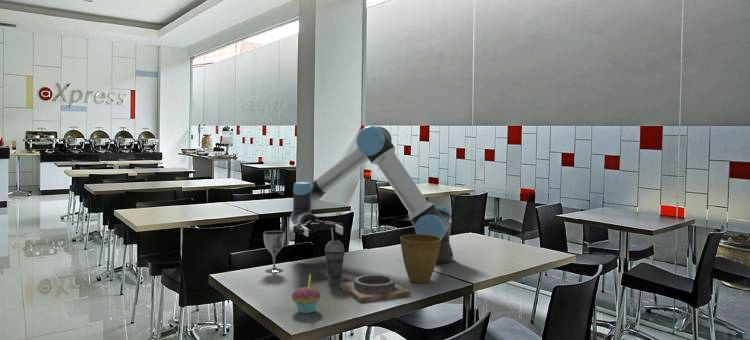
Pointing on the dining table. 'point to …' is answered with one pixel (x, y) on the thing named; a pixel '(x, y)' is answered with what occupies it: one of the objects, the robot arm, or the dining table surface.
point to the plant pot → (420, 256)
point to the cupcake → (306, 298)
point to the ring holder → (374, 288)
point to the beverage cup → (334, 260)
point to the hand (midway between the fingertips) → (325, 231)
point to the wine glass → (274, 246)
